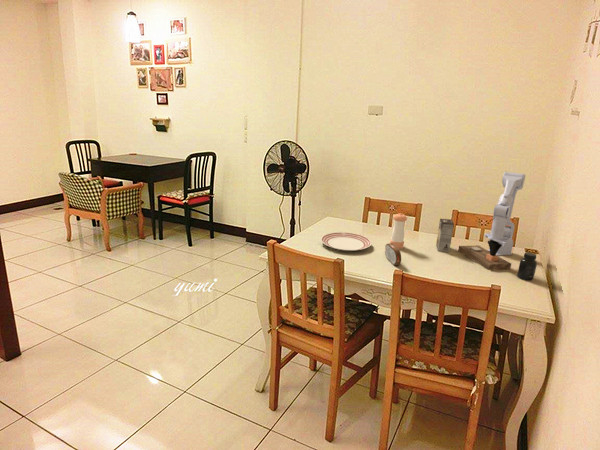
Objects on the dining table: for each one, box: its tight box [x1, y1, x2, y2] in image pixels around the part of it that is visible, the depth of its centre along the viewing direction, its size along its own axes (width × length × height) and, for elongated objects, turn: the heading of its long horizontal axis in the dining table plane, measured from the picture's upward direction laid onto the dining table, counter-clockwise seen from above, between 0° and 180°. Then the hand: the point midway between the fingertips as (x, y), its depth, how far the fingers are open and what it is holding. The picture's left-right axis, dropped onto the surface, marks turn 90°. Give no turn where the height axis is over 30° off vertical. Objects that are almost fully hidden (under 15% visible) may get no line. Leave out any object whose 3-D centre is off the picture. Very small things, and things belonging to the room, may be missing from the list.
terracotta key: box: [486, 254, 500, 261], centre depth 197 cm, size 4×4×3 cm
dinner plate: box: [320, 231, 372, 252], centre depth 215 cm, size 27×27×3 cm
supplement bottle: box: [516, 251, 538, 282], centre depth 182 cm, size 7×7×12 cm
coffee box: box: [435, 218, 455, 253], centre depth 215 cm, size 9×6×16 cm
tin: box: [384, 242, 402, 266], centre depth 194 cm, size 15×3×8 cm, turn 9°
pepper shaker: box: [389, 212, 408, 250], centre depth 215 cm, size 7×7×19 cm
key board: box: [457, 245, 512, 271], centre depth 204 cm, size 12×26×3 cm, turn 11°
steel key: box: [471, 247, 482, 252], centre depth 210 cm, size 4×4×3 cm
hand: (492, 255), depth 197 cm, fingers closed, pressing on terracotta key
